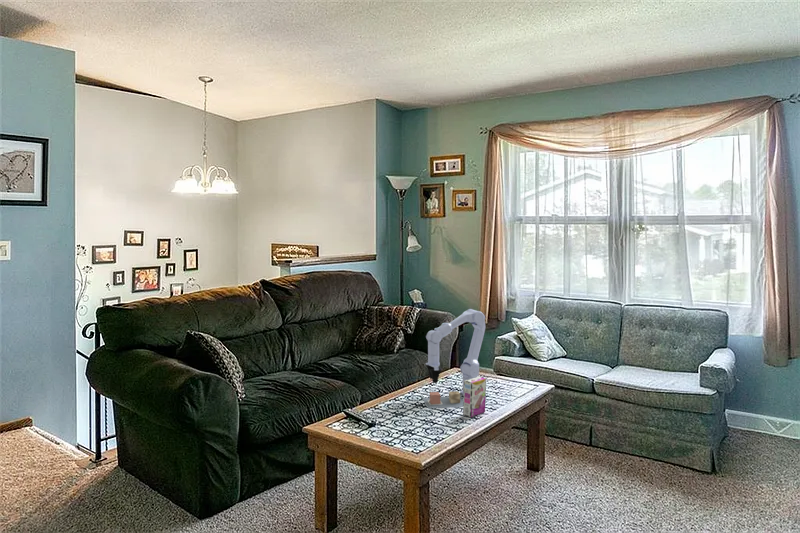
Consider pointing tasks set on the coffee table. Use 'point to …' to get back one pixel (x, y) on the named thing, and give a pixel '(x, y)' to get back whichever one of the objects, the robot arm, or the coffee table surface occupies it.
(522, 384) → the coffee table surface
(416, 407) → the coffee table surface
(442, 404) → the grey flat plate
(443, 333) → the robot arm
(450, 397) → the maple block
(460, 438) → the coffee table surface
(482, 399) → the candy bar box
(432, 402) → the brick-red base block
